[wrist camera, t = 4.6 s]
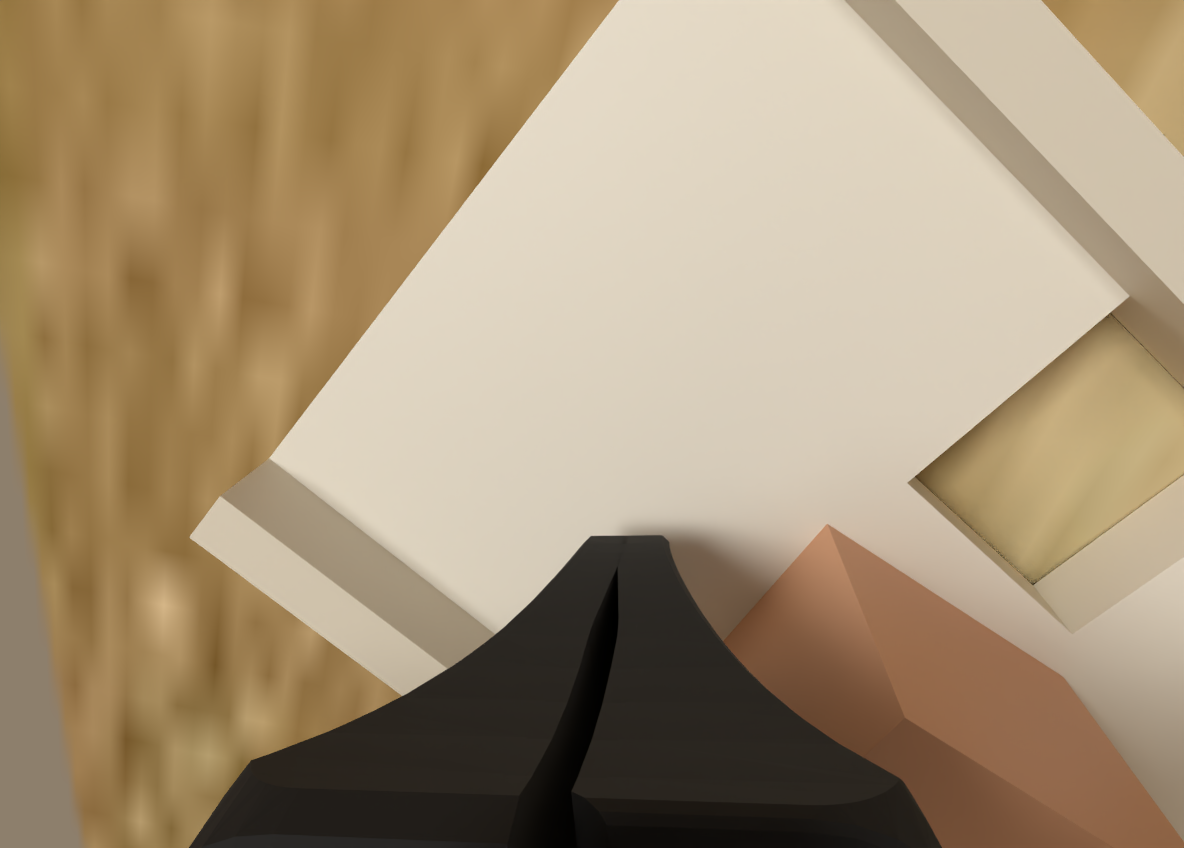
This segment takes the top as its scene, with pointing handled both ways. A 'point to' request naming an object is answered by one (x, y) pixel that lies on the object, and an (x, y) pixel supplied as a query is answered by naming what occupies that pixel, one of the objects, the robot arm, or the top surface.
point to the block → (942, 707)
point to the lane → (751, 343)
